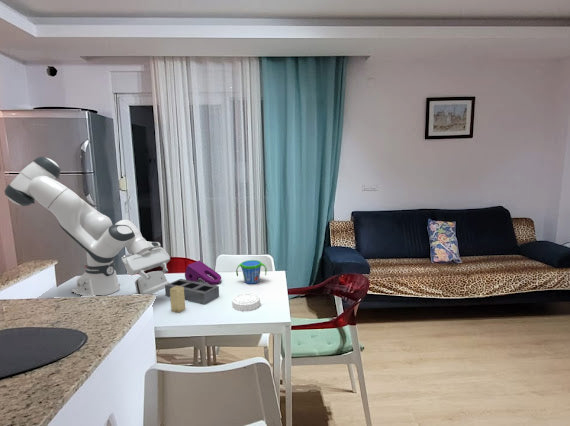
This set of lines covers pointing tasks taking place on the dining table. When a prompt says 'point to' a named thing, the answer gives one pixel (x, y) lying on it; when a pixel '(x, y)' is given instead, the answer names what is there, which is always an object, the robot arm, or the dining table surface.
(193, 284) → the grey rectangular block
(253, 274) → the snack cup
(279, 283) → the dining table surface
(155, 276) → the hinge
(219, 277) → the mounting bracket
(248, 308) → the mooncake
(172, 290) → the brass peg
